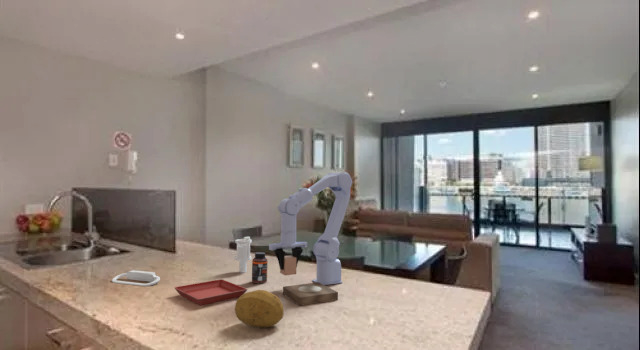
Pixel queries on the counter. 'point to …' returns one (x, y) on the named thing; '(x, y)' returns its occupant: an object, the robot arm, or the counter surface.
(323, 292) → the plinth
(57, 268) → the counter surface
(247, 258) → the white upright piece
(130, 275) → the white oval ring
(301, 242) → the robot arm
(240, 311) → the potato
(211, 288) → the plant saucer
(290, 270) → the block
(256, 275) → the supplement bottle
